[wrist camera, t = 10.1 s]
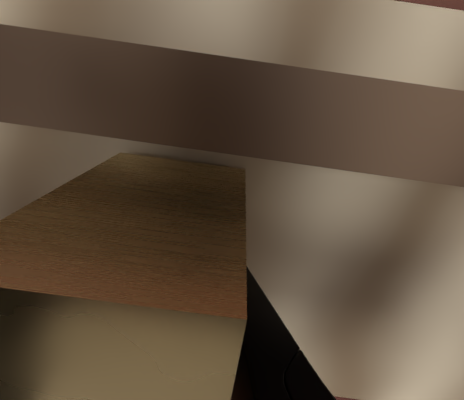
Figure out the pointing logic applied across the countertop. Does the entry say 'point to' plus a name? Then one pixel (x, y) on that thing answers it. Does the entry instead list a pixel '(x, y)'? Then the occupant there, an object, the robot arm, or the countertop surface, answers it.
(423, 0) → the countertop surface
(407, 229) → the board
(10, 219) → the tan box
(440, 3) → the countertop surface
